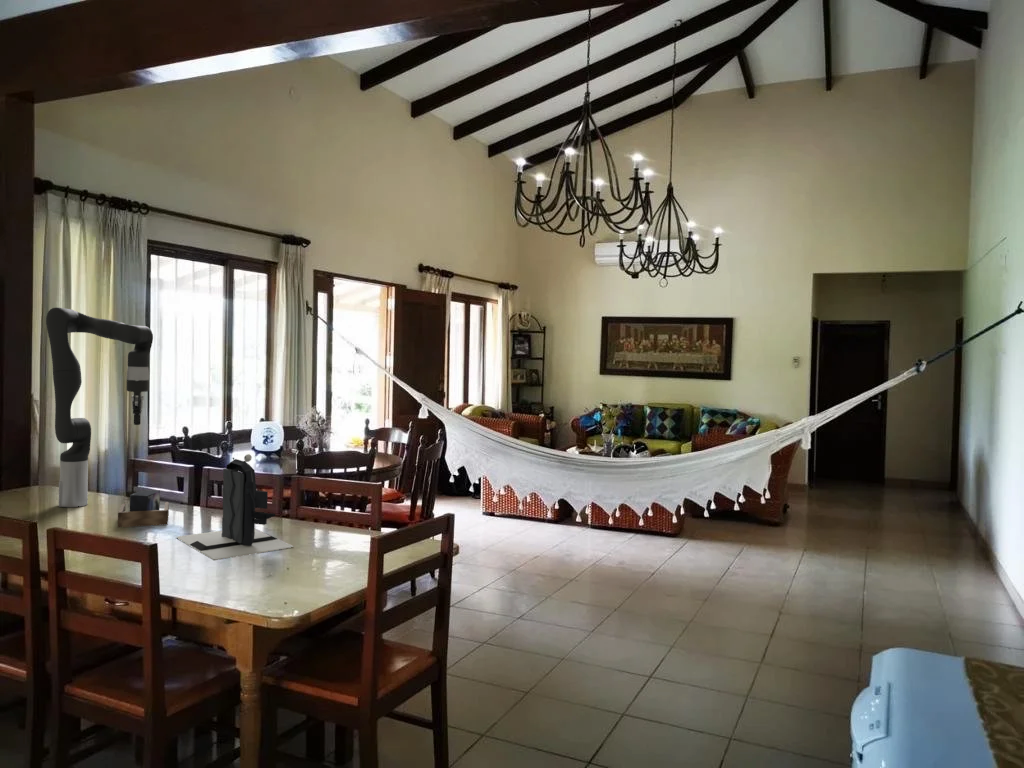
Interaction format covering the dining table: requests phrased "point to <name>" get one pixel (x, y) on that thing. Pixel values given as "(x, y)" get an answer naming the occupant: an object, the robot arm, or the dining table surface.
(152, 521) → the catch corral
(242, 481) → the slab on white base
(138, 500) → the small box
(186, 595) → the dining table surface
